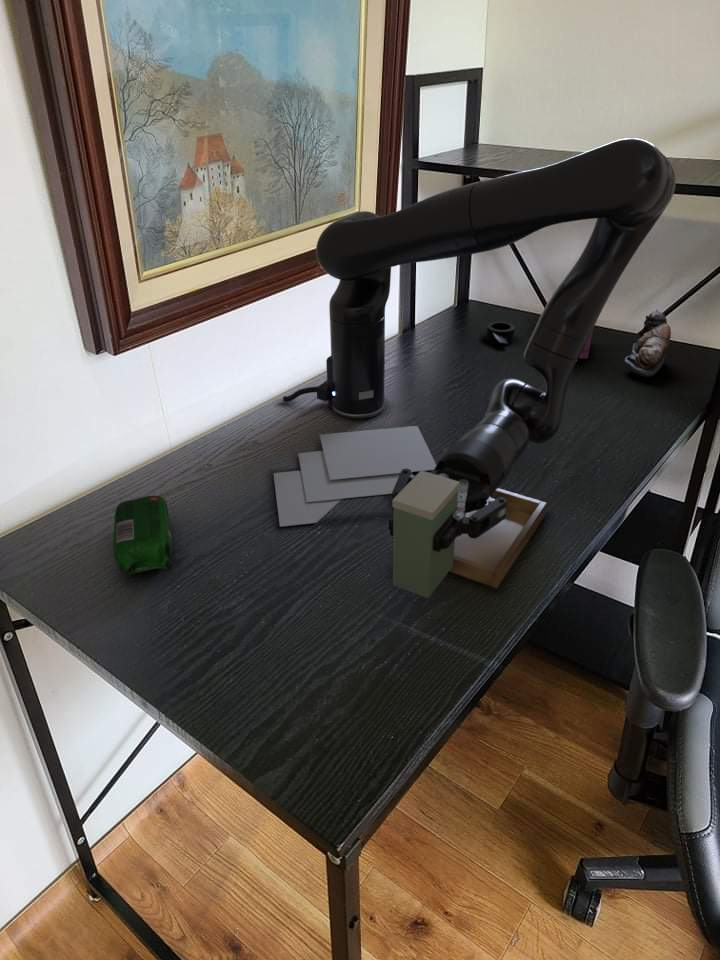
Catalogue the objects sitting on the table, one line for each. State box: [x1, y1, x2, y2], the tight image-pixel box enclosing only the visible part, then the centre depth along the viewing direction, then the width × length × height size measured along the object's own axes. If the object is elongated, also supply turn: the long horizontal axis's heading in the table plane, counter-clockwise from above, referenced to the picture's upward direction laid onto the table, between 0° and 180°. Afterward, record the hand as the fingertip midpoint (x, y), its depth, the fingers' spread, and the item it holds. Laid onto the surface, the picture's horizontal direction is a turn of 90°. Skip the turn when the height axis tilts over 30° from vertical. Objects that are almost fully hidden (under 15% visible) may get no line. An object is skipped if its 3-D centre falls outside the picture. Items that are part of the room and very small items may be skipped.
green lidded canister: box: [391, 471, 460, 599], centre depth 82 cm, size 5×7×12 cm
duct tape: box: [485, 321, 516, 346], centre depth 155 cm, size 8×10×3 cm
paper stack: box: [273, 425, 437, 528], centre depth 112 cm, size 23×25×1 cm
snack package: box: [112, 495, 173, 576], centre depth 95 cm, size 7×16×5 cm, turn 15°
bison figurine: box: [624, 309, 672, 378], centre depth 140 cm, size 12×7×10 cm, turn 154°
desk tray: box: [449, 487, 548, 589], centre depth 98 cm, size 14×18×2 cm
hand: (414, 536), depth 79 cm, fingers closed on green lidded canister, 4 cm apart
